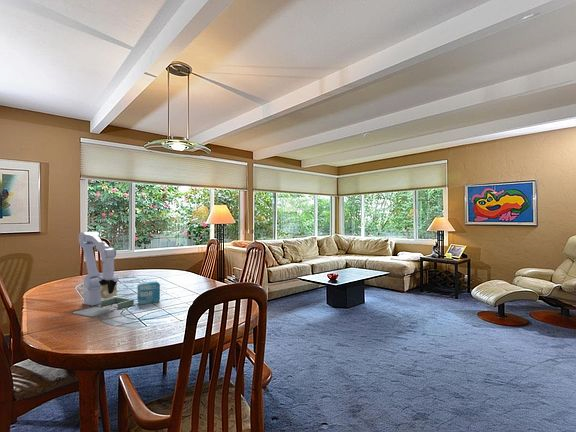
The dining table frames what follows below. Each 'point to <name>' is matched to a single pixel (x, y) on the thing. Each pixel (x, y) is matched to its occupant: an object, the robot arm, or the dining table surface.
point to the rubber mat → (92, 311)
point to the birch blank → (105, 292)
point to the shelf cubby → (121, 302)
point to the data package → (148, 292)
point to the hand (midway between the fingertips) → (108, 292)
